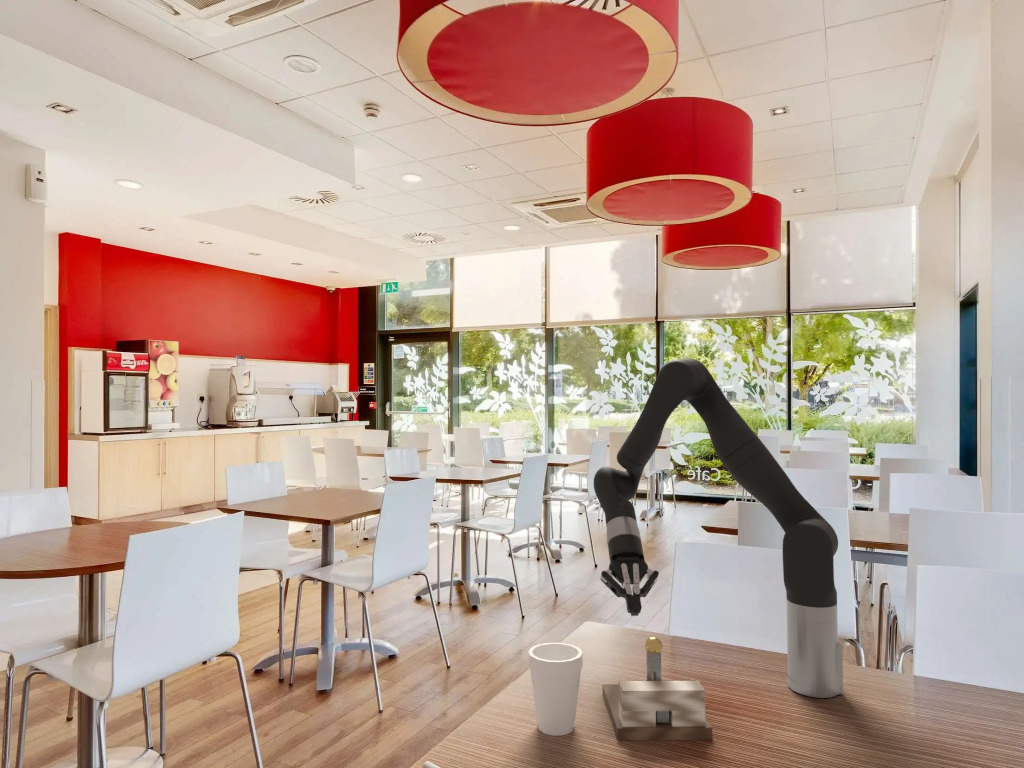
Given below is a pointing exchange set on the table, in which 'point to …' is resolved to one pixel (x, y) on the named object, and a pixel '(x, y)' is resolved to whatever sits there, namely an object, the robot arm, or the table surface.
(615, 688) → the board
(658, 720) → the gold knob lever
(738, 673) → the table surface
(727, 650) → the table surface
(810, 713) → the table surface
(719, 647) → the table surface
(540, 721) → the foam cup
